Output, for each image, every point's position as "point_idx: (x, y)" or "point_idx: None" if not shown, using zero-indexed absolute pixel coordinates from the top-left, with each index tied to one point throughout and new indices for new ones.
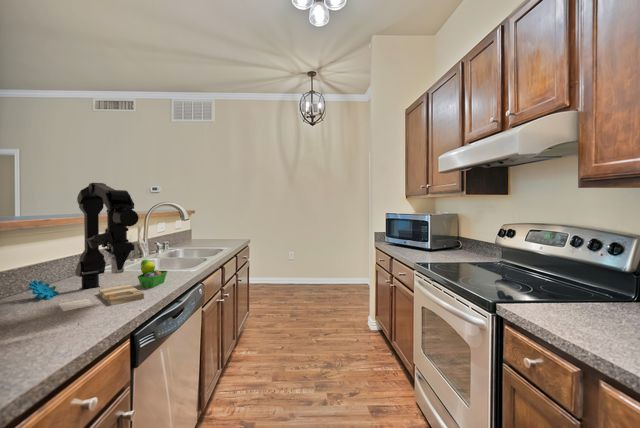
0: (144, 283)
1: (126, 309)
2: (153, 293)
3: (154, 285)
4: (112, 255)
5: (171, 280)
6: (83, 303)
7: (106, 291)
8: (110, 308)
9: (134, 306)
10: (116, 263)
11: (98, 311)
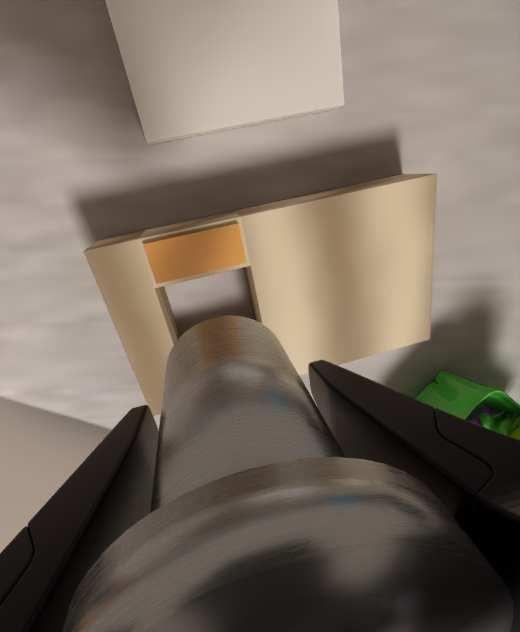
0: (440, 396)
1: (45, 314)
2: None
3: None
4: (77, 625)
5: None
6: (231, 73)
7: (341, 221)
8: (109, 236)
9: (89, 348)
10: (76, 480)
11: (71, 170)
